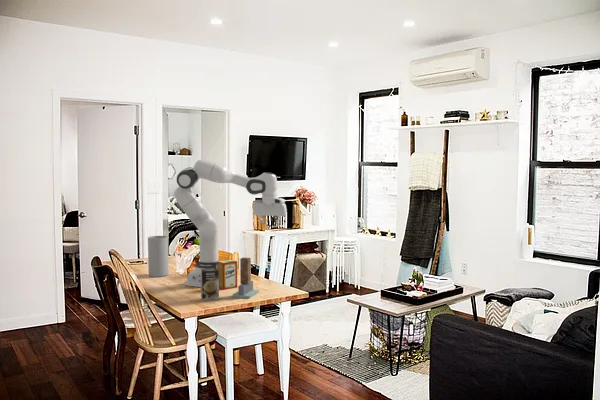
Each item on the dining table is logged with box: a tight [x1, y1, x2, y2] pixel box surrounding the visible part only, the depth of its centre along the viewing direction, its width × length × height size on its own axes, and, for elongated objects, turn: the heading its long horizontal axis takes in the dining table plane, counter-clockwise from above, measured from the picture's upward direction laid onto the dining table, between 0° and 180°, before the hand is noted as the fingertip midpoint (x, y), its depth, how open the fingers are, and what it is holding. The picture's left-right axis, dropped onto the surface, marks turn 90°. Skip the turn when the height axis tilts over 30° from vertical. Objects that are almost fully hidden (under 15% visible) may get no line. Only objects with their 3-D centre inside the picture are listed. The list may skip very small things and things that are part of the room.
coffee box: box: [200, 269, 220, 302], centre depth 295 cm, size 9×6×16 cm
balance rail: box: [232, 280, 260, 300], centre depth 305 cm, size 10×14×6 cm
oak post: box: [239, 257, 252, 285], centre depth 304 cm, size 4×4×14 cm
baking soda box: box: [217, 259, 238, 291], centre depth 322 cm, size 10×6×16 cm
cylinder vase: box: [147, 235, 170, 278], centre depth 356 cm, size 12×12×25 cm
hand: (269, 223), depth 325 cm, fingers open, 8 cm apart
